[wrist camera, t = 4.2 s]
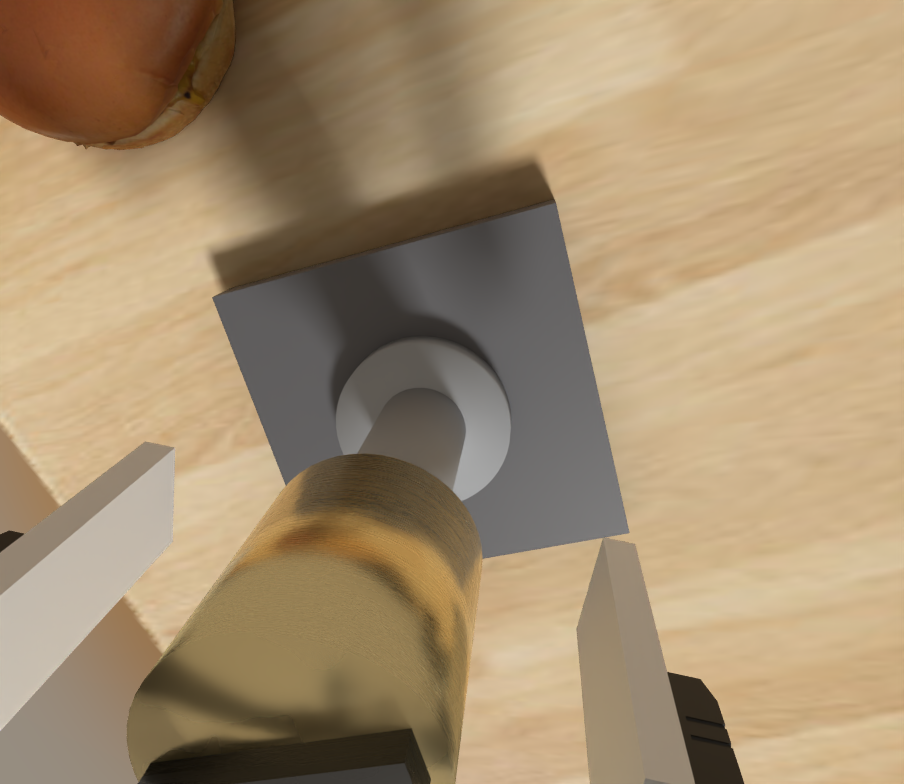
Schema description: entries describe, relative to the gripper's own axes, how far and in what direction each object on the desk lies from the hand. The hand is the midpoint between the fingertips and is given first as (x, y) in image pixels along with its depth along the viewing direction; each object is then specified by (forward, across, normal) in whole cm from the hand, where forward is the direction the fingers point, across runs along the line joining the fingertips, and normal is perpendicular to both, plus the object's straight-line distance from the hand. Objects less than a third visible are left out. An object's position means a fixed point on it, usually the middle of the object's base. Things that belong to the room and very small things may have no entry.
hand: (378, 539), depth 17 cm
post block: (+9, 0, 0) cm, 9 cm away
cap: (-1, 0, 0) cm, 1 cm away
